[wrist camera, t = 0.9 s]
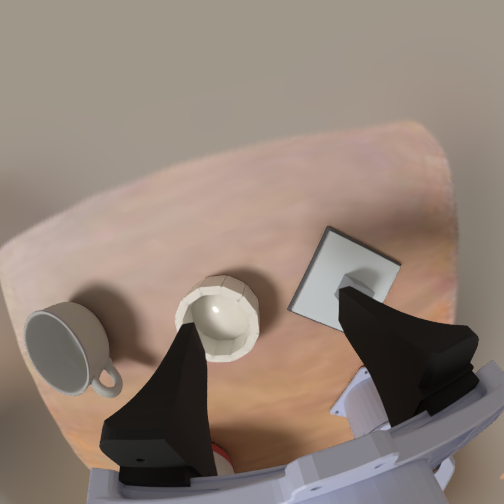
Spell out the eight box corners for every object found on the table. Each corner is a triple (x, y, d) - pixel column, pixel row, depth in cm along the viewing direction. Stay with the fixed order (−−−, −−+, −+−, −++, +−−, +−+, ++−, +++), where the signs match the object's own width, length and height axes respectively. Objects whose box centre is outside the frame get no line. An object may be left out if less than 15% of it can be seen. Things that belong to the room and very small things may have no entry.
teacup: (49, 327, 32) (15, 349, 24) (73, 275, 30) (33, 292, 22) (117, 392, 33) (93, 426, 25) (153, 350, 31) (126, 387, 23)
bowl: (271, 294, 29) (272, 307, 25) (241, 354, 31) (238, 373, 27) (201, 263, 29) (191, 272, 25) (177, 326, 30) (166, 341, 26)
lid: (398, 265, 28) (415, 274, 24) (360, 336, 29) (372, 353, 25) (329, 230, 28) (339, 234, 23) (291, 308, 29) (295, 324, 25)
